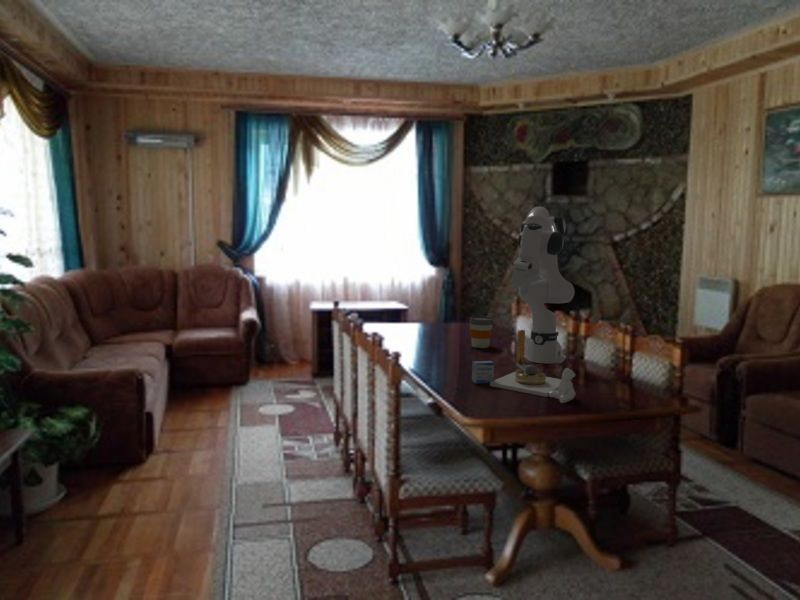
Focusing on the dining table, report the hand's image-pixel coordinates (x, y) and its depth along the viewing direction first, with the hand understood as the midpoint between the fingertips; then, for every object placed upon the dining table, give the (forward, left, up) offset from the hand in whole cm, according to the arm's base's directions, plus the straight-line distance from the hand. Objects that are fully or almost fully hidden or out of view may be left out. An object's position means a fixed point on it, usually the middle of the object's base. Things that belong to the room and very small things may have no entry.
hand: (524, 293), depth 262 cm
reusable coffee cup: (-42, -42, -35) cm, 69 cm away
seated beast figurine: (+24, +29, -35) cm, 52 cm away
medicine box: (+23, -6, -35) cm, 43 cm away
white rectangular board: (+14, +11, -35) cm, 39 cm away
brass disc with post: (+11, +8, -34) cm, 36 cm away
